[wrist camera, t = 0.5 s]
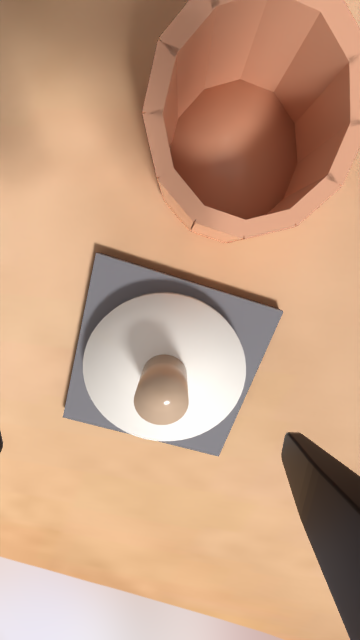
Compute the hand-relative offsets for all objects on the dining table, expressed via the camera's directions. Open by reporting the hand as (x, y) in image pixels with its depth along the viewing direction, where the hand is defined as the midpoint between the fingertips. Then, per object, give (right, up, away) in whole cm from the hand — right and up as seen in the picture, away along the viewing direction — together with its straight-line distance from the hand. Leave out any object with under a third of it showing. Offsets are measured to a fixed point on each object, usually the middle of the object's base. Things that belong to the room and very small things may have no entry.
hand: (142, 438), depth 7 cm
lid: (0, 0, +12) cm, 12 cm away
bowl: (+5, +15, +9) cm, 18 cm away
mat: (0, 0, +13) cm, 13 cm away
